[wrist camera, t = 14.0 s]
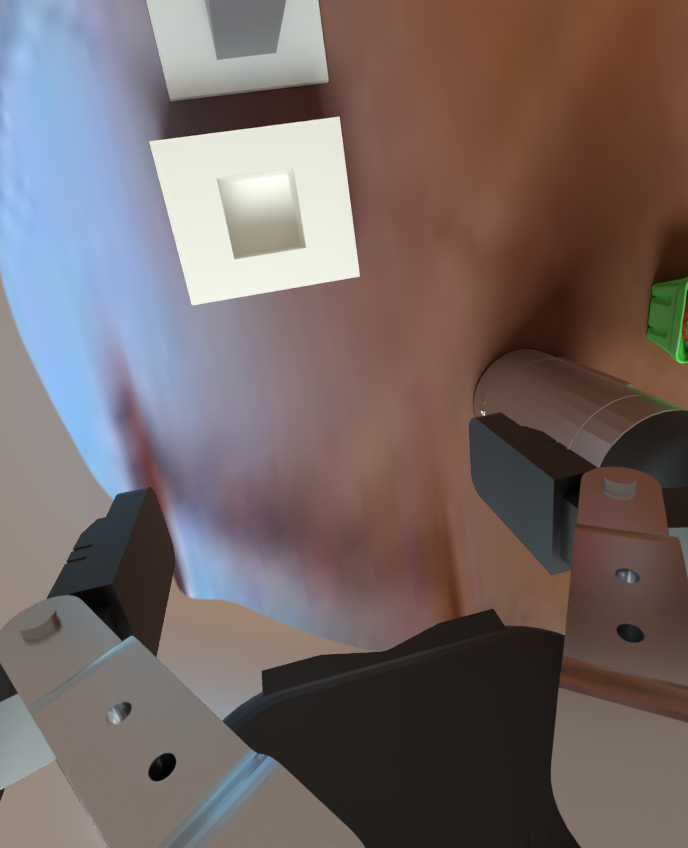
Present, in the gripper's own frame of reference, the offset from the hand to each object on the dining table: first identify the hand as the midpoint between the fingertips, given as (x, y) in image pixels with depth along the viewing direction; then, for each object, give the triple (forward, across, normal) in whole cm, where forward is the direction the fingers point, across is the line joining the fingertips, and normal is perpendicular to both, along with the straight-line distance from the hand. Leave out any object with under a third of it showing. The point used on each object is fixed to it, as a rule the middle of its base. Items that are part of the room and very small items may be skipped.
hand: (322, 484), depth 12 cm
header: (+30, -1, -7) cm, 31 cm away
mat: (+30, -2, -19) cm, 36 cm away
